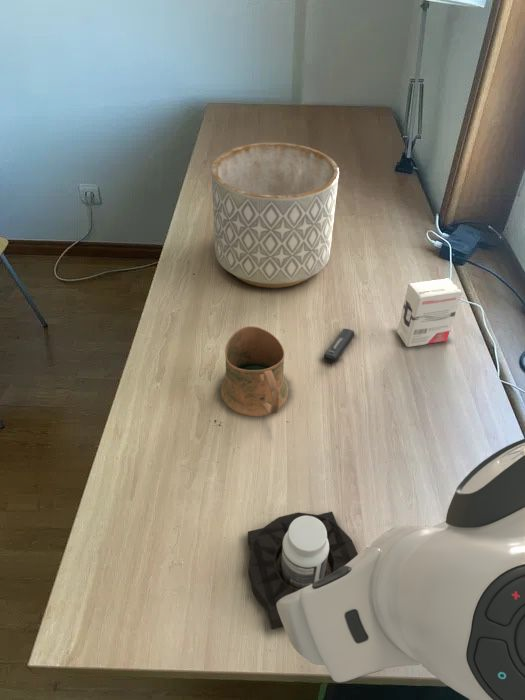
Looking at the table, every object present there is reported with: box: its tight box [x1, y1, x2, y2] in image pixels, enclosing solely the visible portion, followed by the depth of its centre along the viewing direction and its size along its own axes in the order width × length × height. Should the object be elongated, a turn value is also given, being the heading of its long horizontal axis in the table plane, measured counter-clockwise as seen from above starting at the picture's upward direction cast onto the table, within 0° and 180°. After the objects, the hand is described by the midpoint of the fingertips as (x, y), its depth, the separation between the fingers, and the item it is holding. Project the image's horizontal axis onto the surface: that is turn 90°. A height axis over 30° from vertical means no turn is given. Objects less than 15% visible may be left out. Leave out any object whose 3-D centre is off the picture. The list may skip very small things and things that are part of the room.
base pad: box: [247, 511, 359, 630], centre depth 73 cm, size 14×14×2 cm
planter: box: [211, 142, 340, 289], centre depth 120 cm, size 26×26×22 cm
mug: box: [220, 325, 289, 417], centre depth 91 cm, size 12×18×12 cm, turn 15°
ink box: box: [396, 277, 463, 348], centre depth 105 cm, size 8×5×12 cm, turn 104°
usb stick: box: [323, 328, 355, 364], centre depth 106 cm, size 10×3×2 cm, turn 150°
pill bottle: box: [280, 516, 329, 590], centre depth 70 cm, size 6×6×10 cm
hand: (369, 565), depth 55 cm, fingers open, 8 cm apart
